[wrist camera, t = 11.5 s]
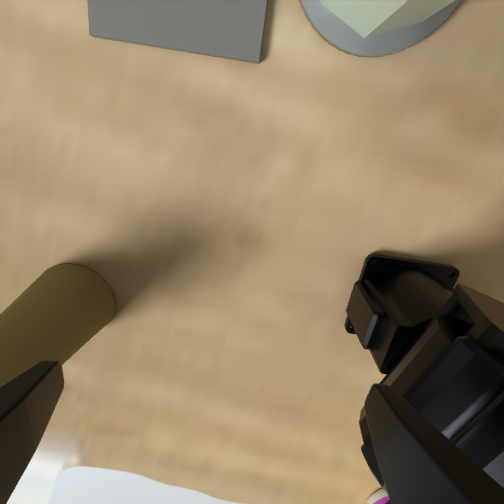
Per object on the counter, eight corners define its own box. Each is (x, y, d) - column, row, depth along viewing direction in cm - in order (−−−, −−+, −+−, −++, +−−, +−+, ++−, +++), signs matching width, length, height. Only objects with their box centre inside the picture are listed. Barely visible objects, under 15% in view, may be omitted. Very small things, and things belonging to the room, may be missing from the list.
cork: (40, 252, 22) (-151, 362, 12) (122, 279, 23) (8, 405, 12) (33, 317, 24) (-132, 455, 14) (108, 339, 25) (2, 488, 15)
